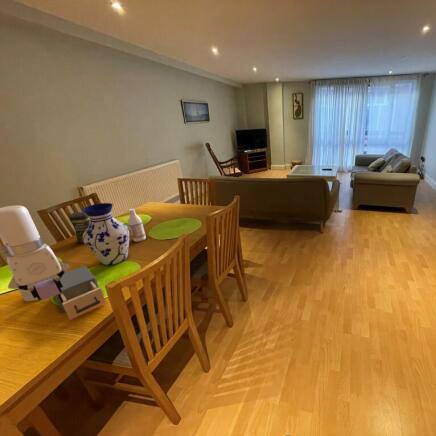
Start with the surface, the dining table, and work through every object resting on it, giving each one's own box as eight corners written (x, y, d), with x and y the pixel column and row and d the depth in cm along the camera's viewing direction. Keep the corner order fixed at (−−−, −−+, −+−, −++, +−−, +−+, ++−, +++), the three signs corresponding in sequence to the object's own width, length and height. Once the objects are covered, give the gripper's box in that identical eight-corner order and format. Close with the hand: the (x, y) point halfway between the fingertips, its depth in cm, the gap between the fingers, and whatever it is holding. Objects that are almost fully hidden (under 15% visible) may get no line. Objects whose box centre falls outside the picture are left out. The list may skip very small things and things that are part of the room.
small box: (39, 289, 105) (29, 269, 101) (54, 287, 106) (44, 268, 102) (24, 302, 98) (12, 281, 94) (40, 300, 99) (29, 279, 95)
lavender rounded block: (42, 300, 77) (36, 289, 75) (39, 295, 80) (34, 284, 78) (60, 293, 80) (54, 282, 78) (57, 288, 83) (52, 277, 81)
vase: (107, 273, 116) (86, 216, 104) (84, 264, 123) (63, 210, 112) (143, 255, 132) (129, 203, 120) (122, 248, 139) (106, 199, 128)
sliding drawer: (110, 308, 94) (105, 293, 91) (73, 326, 85) (65, 310, 82) (95, 289, 104) (90, 275, 101) (61, 304, 96) (54, 289, 93)
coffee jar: (76, 244, 144) (64, 215, 136) (83, 238, 151) (72, 210, 144) (94, 242, 146) (84, 214, 139) (100, 236, 153) (91, 209, 146)
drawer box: (101, 294, 102) (95, 277, 98) (63, 312, 93) (54, 293, 89) (91, 281, 110) (84, 265, 107) (54, 296, 101) (46, 278, 98)
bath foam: (132, 238, 150) (124, 209, 142) (145, 235, 154) (137, 206, 146) (134, 243, 145) (125, 212, 137) (147, 239, 148) (139, 209, 141)
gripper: (-17, 262, 65) (14, 314, 72) (64, 239, 77) (84, 285, 84) (-18, 253, 69) (11, 303, 76) (59, 233, 81) (78, 277, 88)
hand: (49, 293), depth 80 cm, fingers closed on lavender rounded block, 4 cm apart
